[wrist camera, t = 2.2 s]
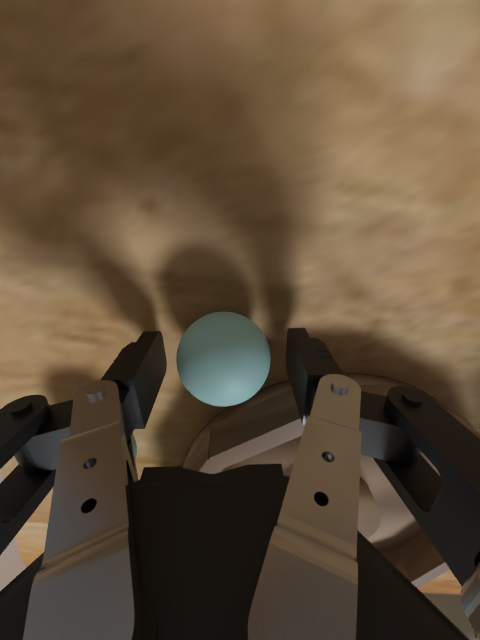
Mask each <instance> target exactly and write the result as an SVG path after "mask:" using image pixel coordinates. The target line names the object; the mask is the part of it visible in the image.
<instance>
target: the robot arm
mask: <svg viewBox="0 0 480 640" xmlns="http://www.w3.org/2000/svg"><path fill="white" fill-rule="evenodd" d="M166 367H167V362H166V355H165V349H164V343H163V337H162V333H161V332H160V331H146V332H143V333H142V334H141V336H140V337H139V339H138V340H137V342H132V343H130V344H129V345H127V346H126V347H124V348H123V349H122V350H121V352H120V353H119V355H118V357H116V359H115V360H114V363H112V365H111V366H110V367H109V369H108V370H107V372H106V373H105V375H104V376H103V377H102V379H101V380H100V381H96V382H93V383H90V384H88V385H86V386H84V387H83V388H81V389H80V390H79V391H78V392H77V393H76V394H75V396H74V399H73V400H71V401H66V402H62V403H58V404H54V405H49V403H48V401H47V399H46V397H44V396H42V395H30V396H25V397H22V398H19V399H17V400H15V401H13V402H11V403H9V404H7V405H6V406H4V407H3V408H2V409H0V469H1V468H2V467H3V466H4V465H5V464H6V463H7V462H8V461H9V460H10V459H11V458H12V457H13V456H15V458H16V460H17V461H18V463H19V465H18V466H17V467H16V468H15V469H14V470H13V471H12V472H11V473H10V474H9V475H8V476H7V477H6V478H5V479H4V480H3V481H2V482H1V484H0V555H1V554H2V552H3V551H4V550H5V549H6V547H7V546H8V545H9V543H10V542H11V541H12V540H13V538H14V537H15V536H16V534H17V533H18V532H19V530H20V529H21V528H22V527H23V525H24V524H25V523H26V521H27V520H28V519H29V517H30V516H31V515H32V514H33V512H34V511H35V510H36V508H37V507H38V506H39V504H40V503H41V502H42V501H43V499H44V498H45V497H46V495H47V494H48V493H49V492H50V490H51V489H52V488H53V486H54V488H53V495H52V502H51V509H50V516H49V523H48V529H47V536H46V543H45V550H44V553H42V554H41V555H40V556H39V557H38V558H37V559H36V560H35V561H34V562H32V563H31V564H30V565H29V566H28V567H27V568H26V569H25V570H24V571H22V572H21V573H20V574H19V575H18V576H17V577H16V578H15V579H14V580H12V581H11V582H10V583H9V584H8V585H7V586H6V587H5V588H4V589H2V590H1V591H0V640H469V639H468V638H467V637H466V636H465V635H464V634H463V633H462V632H461V631H460V630H459V629H458V628H457V627H456V626H455V625H454V624H453V623H452V622H451V621H450V620H449V619H448V618H447V617H446V616H445V615H444V614H443V613H442V612H441V611H440V610H439V609H438V608H437V607H436V606H435V605H433V603H432V602H431V601H430V600H429V599H427V598H426V597H425V596H424V595H423V594H422V593H421V592H420V591H419V590H418V589H417V588H416V587H415V586H414V585H413V584H412V583H411V582H410V581H409V580H408V579H407V578H406V577H405V576H404V575H403V574H402V573H401V572H400V571H399V570H398V569H397V568H396V567H395V566H394V565H393V564H392V563H391V562H390V561H389V560H388V559H387V558H386V557H385V556H384V555H383V554H382V553H381V552H380V551H379V550H378V549H377V548H376V547H374V546H373V545H372V544H371V543H370V542H369V541H368V540H367V539H366V538H365V537H364V536H363V535H362V534H361V533H360V532H359V531H358V507H359V485H360V462H361V454H362V455H366V456H369V457H373V459H374V460H375V462H376V463H377V465H378V466H379V468H380V469H381V471H382V472H383V474H384V475H385V476H386V478H387V479H388V481H389V482H390V484H391V485H392V486H393V488H394V489H395V491H396V492H397V494H398V495H399V497H400V498H401V499H402V501H403V502H404V504H405V505H406V507H407V508H408V509H409V511H410V512H411V514H412V515H413V517H414V518H415V520H416V521H417V522H418V524H419V525H420V527H421V528H422V530H423V531H424V532H425V534H426V535H427V537H428V538H429V540H430V541H431V543H432V544H433V545H434V547H435V548H436V550H437V551H438V553H439V554H440V555H441V557H442V558H443V560H444V561H445V563H446V564H447V566H448V567H449V568H450V570H451V571H452V573H453V574H454V576H455V577H456V578H457V580H458V581H459V583H460V584H461V586H462V590H461V601H462V606H463V609H464V611H465V614H466V617H467V619H468V621H469V622H470V624H471V628H472V632H473V634H474V636H475V638H476V640H480V439H479V438H478V437H477V436H476V435H475V434H473V433H472V432H471V431H470V430H469V429H468V428H466V427H465V426H464V425H463V424H462V423H460V422H459V421H458V420H457V419H456V418H455V417H453V416H452V415H451V414H450V413H449V412H448V411H446V410H445V409H444V408H443V407H442V406H440V405H439V404H438V403H437V402H436V401H435V400H433V399H432V398H431V397H430V396H428V395H427V394H425V393H424V392H422V391H420V390H418V389H415V388H412V387H407V386H395V387H392V388H390V389H389V391H388V393H387V396H382V395H377V394H372V393H367V392H364V391H361V388H360V386H359V384H358V383H357V382H355V381H354V380H353V379H351V378H349V377H347V376H344V375H343V374H342V372H341V371H340V369H339V367H338V366H337V364H336V362H335V360H334V359H333V358H332V355H331V354H330V352H329V350H328V348H327V347H326V345H325V344H324V343H323V342H322V341H320V340H319V339H318V338H310V337H309V335H308V333H307V331H306V329H305V328H288V331H287V345H286V369H287V373H288V376H289V380H290V383H291V387H292V390H293V394H294V397H295V401H296V404H297V408H298V411H299V415H300V418H301V422H302V425H305V426H304V430H303V433H302V437H301V440H300V444H299V447H298V451H297V454H296V458H295V462H294V465H293V469H292V472H291V476H290V477H289V476H285V475H283V469H282V464H250V465H244V466H241V467H237V468H234V469H230V470H226V471H223V472H219V473H215V474H208V473H204V472H200V471H195V470H191V469H187V468H182V467H144V469H143V472H142V475H141V479H140V480H138V475H137V468H136V462H135V455H134V448H133V441H132V438H131V435H132V433H133V430H134V429H145V426H146V424H147V421H148V418H149V416H150V413H151V410H152V408H153V405H154V403H155V400H156V397H157V395H158V392H159V389H160V387H161V384H162V381H163V379H164V376H165V373H166ZM420 452H422V453H423V454H424V455H425V456H426V457H427V458H428V459H429V461H430V462H431V463H432V464H433V465H434V466H435V467H436V469H437V470H438V472H439V474H440V475H439V474H438V473H437V472H436V471H435V470H434V469H433V468H432V466H431V465H430V464H429V463H428V462H427V461H426V460H425V459H424V457H423V456H422V455H421V454H420Z"/></svg>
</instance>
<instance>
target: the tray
mask: <svg viewBox="0 0 480 640" xmlns="http://www.w3.org/2000/svg"><path fill="white" fill-rule="evenodd" d="M342 374H343V375H344V376H347V377H349V378H351V379H353V380H354V381H355V382H357V383H358V384H359V386H360V388H361V391H364V392H367V393H372V394H377V395H382V396H387V393H388V391H389V389H390V388H392V387H395V386H407V387H412V388H415V387H413V386H410V385H408V384H406V383H403V382H400V381H396V380H392V379H389V378H385V377H380V376H372V375H365V374H346V373H342ZM415 389H417V388H415ZM418 390H420V389H418ZM420 391H422V390H420ZM422 392H423V391H422ZM424 393H425V392H424ZM425 394H426V393H425ZM427 395H428V394H427ZM428 396H430V395H428ZM430 397H431V396H430ZM431 398H432V399H433V400H435V401H436V402H437V403H438V404H439V405H440V406H442V407H443V408H444V409H445V410H446V411H448V410H447V409H446V408H445V407H444V406H443V405H441V404H440V403H439V402H438V401H437V400H436V399H435V398H433V397H431ZM448 412H449V413H450V414H451V415H452V416H453V417H455V418H456V419H457V420H458V421H459V422H460V423H462V424H463V425H464V426H465V427H466V428H468V429H469V430H470V431H471V432H472V433H473V434H475V435H476V436H477V437H478V438H479V439H480V434H479V433H478V432H477V431H476V430H475V429H474V428H473V427H472V426H471V425H470V424H469V423H468V422H467V421H466V420H465V419H464V418H462V417H460V416H458V415H456V414H454V413H452V412H450V411H448ZM304 426H305V425H302V422H301V418H300V415H299V411H298V408H297V404H296V401H295V397H294V394H293V390H292V387H291V383H290V380H289V381H285V382H282V383H278V384H275V385H272V386H269V387H267V388H264V389H262V390H259V391H258V392H257V393H256V394H254V395H253V396H252V397H251V398H249V399H248V400H246V401H244V402H242V403H240V404H236V405H232V406H229V407H228V408H226V409H225V410H224V411H222V412H221V413H219V414H218V415H217V416H216V417H215V418H213V419H212V420H211V421H210V422H209V423H208V424H207V425H206V426H205V427H204V428H203V429H202V431H201V432H200V433H199V434H198V436H197V437H196V438H195V439H194V441H193V443H192V445H191V446H190V448H189V450H188V452H187V454H186V457H185V460H184V463H183V467H182V468H187V469H191V470H195V471H200V472H204V473H208V474H215V473H219V472H223V471H226V470H230V469H234V468H237V467H241V466H244V465H250V464H282V469H283V475H285V476H289V477H290V476H291V472H292V469H293V465H294V462H295V458H296V454H297V451H298V447H299V444H300V440H301V437H302V433H303V430H304ZM420 454H421V455H422V456H423V457H424V459H425V460H426V461H427V462H428V463H429V464H430V465H431V466H432V468H433V469H434V470H435V471H436V472H437V473H438V474H439V472H438V470H437V469H436V467H435V466H434V465H433V464H432V463H431V462H430V461H429V459H428V458H427V457H426V456H425V455H424V454H423V453H422V452H420ZM439 475H440V474H439ZM358 531H359V532H360V533H361V534H362V535H363V536H364V537H365V538H366V539H367V540H368V541H369V542H370V543H371V544H372V545H373V546H374V547H376V548H377V549H378V550H379V551H380V552H381V553H382V554H383V555H384V556H385V557H386V558H387V559H388V560H389V561H390V562H391V563H392V564H393V565H394V566H395V567H396V568H397V569H398V570H399V571H400V572H401V573H402V574H403V575H404V576H405V577H406V578H407V579H408V580H409V581H410V582H411V583H412V584H413V585H414V586H415V587H416V588H417V587H418V586H419V587H420V586H422V585H423V584H425V583H427V582H428V581H430V580H432V579H434V578H435V577H437V576H439V575H440V574H442V573H444V572H446V571H447V570H449V569H450V568H449V567H448V566H447V564H446V563H445V561H444V560H443V558H442V557H441V555H440V554H439V553H438V551H437V550H436V548H435V547H434V545H433V544H432V543H431V541H430V540H429V538H428V537H427V535H426V534H425V532H424V531H423V530H422V528H421V527H420V525H419V524H418V522H417V521H416V520H415V518H414V517H413V515H412V514H411V512H410V511H409V509H408V508H407V507H406V505H405V504H404V502H403V501H402V499H401V498H400V497H399V495H398V494H397V492H396V491H395V489H394V488H393V486H392V485H391V484H390V482H389V481H388V479H387V478H386V476H385V475H384V474H383V472H382V471H381V469H380V468H379V466H378V465H377V463H376V462H375V460H374V459H373V457H369V456H366V455H362V454H361V462H360V485H359V507H358Z"/></svg>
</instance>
